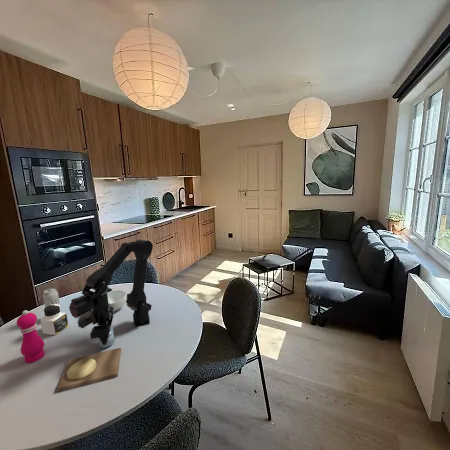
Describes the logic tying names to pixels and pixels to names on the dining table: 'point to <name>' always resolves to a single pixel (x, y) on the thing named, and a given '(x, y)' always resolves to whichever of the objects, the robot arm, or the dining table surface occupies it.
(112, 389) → the dining table surface
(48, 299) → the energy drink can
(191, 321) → the dining table surface
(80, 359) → the base
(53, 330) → the medicine bottle
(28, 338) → the pepper mill
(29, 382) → the dining table surface
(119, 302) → the cereal bowl
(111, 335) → the cap
